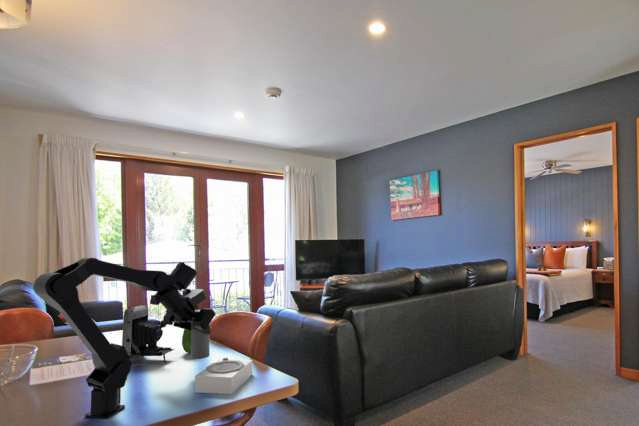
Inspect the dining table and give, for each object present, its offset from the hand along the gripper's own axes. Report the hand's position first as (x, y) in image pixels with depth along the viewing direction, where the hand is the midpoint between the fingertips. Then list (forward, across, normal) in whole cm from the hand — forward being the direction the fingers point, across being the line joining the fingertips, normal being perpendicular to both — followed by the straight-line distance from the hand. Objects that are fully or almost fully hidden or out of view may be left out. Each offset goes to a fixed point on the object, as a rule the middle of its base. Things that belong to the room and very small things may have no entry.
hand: (203, 332), depth 121 cm
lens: (+4, 0, +6) cm, 7 cm away
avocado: (+20, +24, -1) cm, 31 cm away
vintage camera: (+10, +30, +9) cm, 33 cm away
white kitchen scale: (+9, -11, +10) cm, 17 cm away
